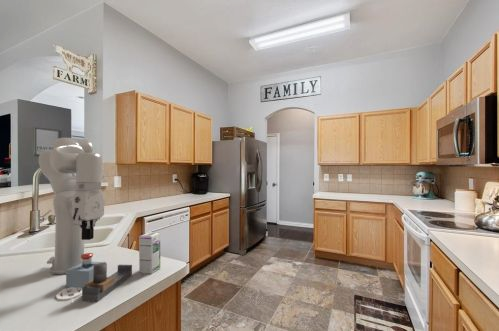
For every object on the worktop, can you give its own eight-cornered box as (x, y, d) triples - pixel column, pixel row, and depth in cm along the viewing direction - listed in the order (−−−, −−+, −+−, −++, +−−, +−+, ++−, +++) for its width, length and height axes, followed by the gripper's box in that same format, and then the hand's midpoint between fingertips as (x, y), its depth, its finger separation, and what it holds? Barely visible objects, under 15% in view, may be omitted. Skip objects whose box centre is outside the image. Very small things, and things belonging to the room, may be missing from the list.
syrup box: (152, 274, 89) (152, 236, 89) (138, 272, 90) (139, 235, 91) (160, 268, 95) (161, 232, 95) (147, 267, 96) (148, 231, 96)
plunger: (78, 267, 80) (78, 256, 80) (85, 263, 84) (86, 252, 84) (87, 267, 80) (87, 256, 80) (94, 263, 83) (95, 253, 83)
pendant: (81, 286, 80) (81, 284, 80) (88, 299, 72) (88, 296, 72) (54, 294, 75) (54, 291, 75) (58, 308, 67) (58, 305, 67)
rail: (81, 301, 70) (82, 287, 70) (119, 275, 88) (119, 264, 88) (97, 301, 70) (97, 288, 70) (131, 275, 88) (132, 264, 88)
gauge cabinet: (65, 288, 78) (66, 270, 78) (84, 277, 86) (84, 261, 86) (88, 289, 77) (88, 271, 77) (105, 278, 85) (105, 262, 85)
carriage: (84, 290, 72) (85, 267, 72) (96, 283, 77) (97, 261, 77) (103, 291, 71) (103, 268, 72) (113, 283, 76) (114, 262, 77)
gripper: (82, 188, 75) (80, 245, 74) (112, 186, 90) (111, 233, 89) (60, 188, 75) (58, 245, 75) (94, 186, 90) (93, 233, 90)
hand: (87, 239), depth 82 cm, fingers closed
